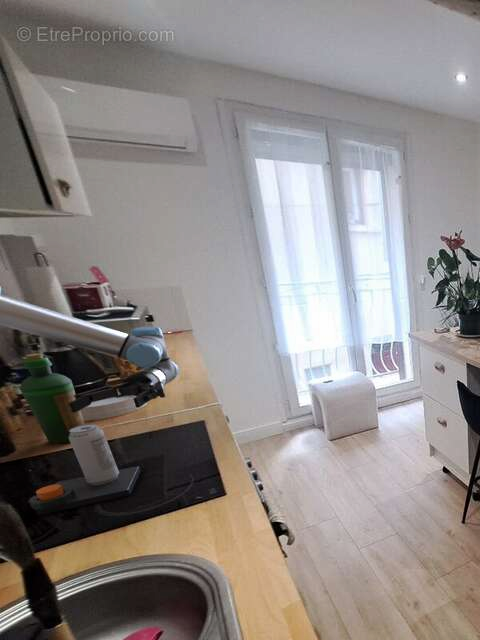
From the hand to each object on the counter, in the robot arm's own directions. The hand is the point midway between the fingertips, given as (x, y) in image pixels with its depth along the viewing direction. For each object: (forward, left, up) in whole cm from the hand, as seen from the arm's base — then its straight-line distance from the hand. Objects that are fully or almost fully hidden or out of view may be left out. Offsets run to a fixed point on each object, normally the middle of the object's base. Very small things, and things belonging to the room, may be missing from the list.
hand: (105, 405), depth 111 cm
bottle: (-19, +32, -19) cm, 42 cm away
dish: (-15, +59, -19) cm, 63 cm away
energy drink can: (-2, -11, -17) cm, 21 cm away
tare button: (-10, -18, -15) cm, 26 cm away
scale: (-4, -13, -19) cm, 23 cm away
